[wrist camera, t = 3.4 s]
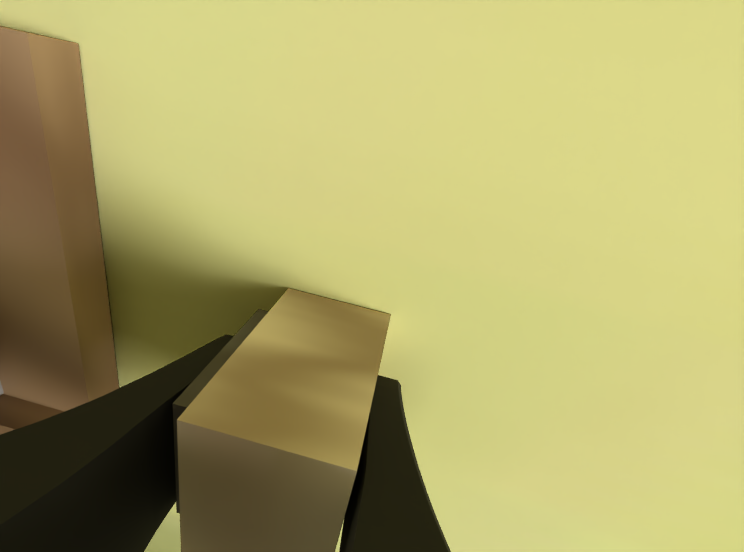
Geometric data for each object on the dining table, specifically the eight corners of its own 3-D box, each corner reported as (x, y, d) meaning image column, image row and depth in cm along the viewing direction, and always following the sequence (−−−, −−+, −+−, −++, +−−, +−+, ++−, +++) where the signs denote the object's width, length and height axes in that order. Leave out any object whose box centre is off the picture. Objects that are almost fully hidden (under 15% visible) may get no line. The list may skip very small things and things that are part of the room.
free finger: (390, 314, 10) (356, 471, 6) (363, 418, 12) (320, 602, 7) (271, 283, 10) (147, 411, 6) (261, 389, 12) (158, 552, 8)
